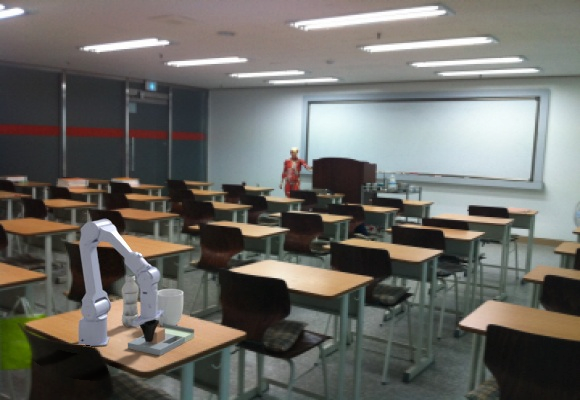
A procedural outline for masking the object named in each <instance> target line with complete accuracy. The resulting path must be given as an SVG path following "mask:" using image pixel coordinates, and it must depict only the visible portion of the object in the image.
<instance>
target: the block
mask: <svg viewBox="0 0 580 400" xmlns="http://www.w3.org/2000/svg"><path fill="white" fill-rule="evenodd" d="M163 340H165V329H164V328H161V327H158V326H157V327H156V330H155V332H154V336H153V340H152V342H151V343H156V344H157V343H159V342H161V341H163Z"/></svg>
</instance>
